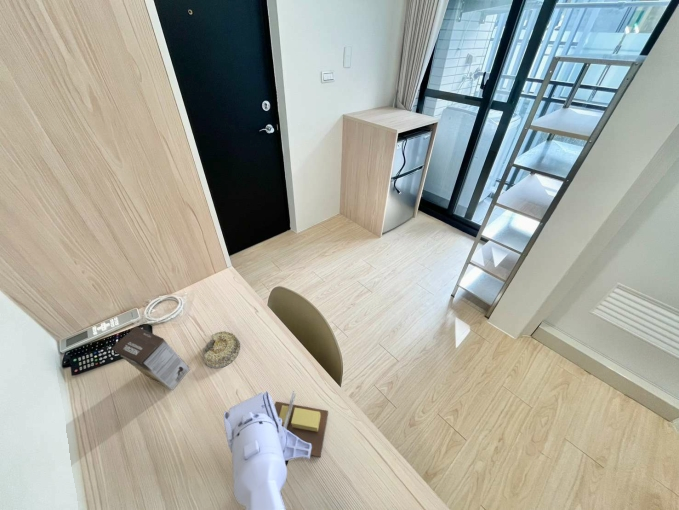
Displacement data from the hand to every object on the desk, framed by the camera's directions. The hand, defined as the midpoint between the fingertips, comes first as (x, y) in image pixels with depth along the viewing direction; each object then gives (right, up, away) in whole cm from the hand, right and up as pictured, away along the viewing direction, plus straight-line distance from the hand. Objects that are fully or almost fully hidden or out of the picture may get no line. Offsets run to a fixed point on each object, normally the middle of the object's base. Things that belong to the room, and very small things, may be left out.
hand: (278, 453), depth 54 cm
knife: (0, +1, +4) cm, 4 cm away
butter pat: (0, +2, +9) cm, 9 cm away
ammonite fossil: (-21, +12, +22) cm, 33 cm away
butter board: (+2, -1, +8) cm, 9 cm away
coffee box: (-33, +8, +18) cm, 38 cm away
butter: (+5, +1, +9) cm, 10 cm away
